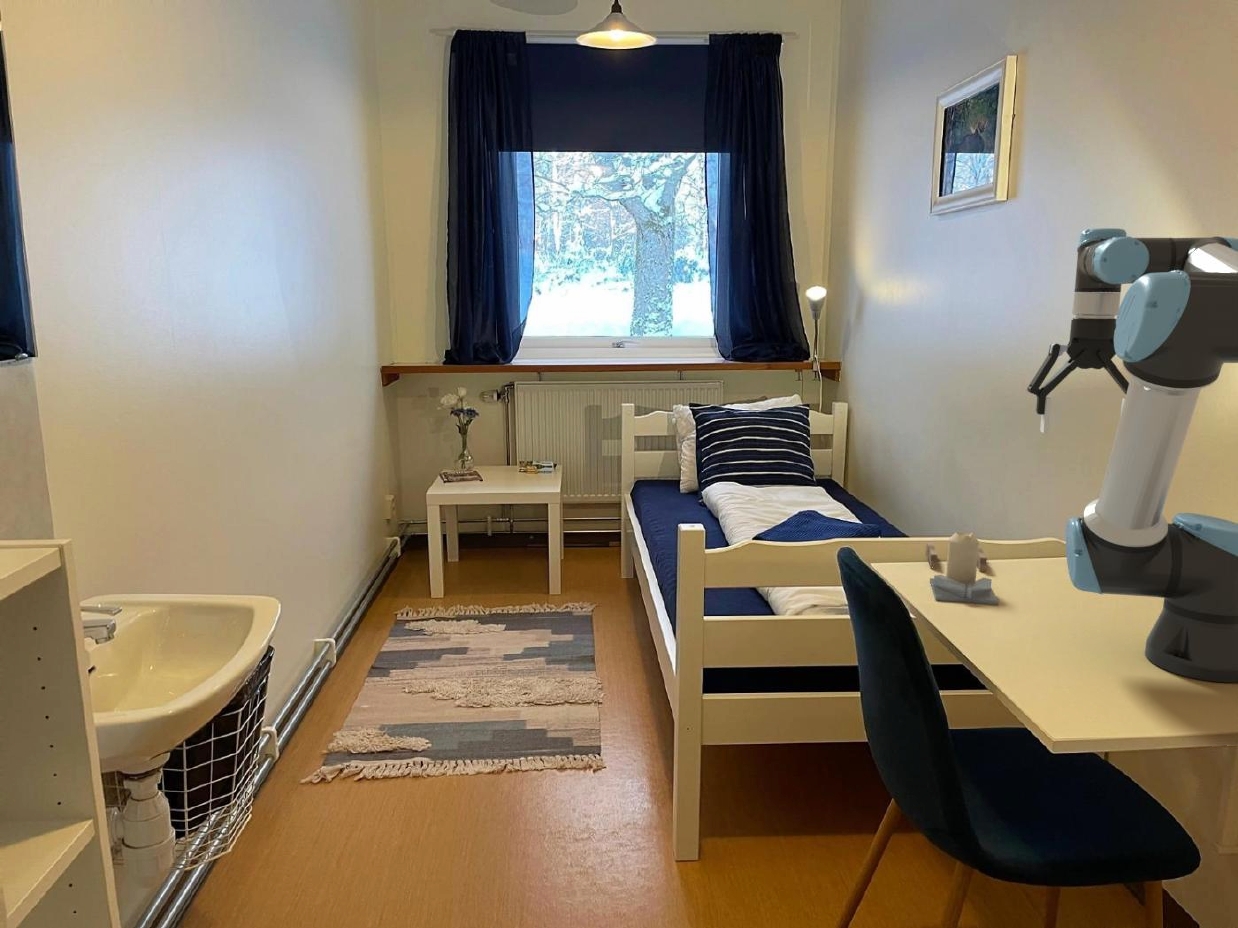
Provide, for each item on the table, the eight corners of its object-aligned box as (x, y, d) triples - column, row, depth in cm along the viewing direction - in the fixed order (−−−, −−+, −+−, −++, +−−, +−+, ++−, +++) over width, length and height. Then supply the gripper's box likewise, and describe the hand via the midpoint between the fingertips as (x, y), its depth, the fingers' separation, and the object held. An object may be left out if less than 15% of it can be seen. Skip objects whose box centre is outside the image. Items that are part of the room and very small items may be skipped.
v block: (997, 604, 175) (998, 590, 174) (935, 600, 177) (936, 586, 176) (988, 586, 185) (989, 572, 185) (929, 582, 187) (930, 568, 187)
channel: (985, 571, 194) (986, 557, 193) (930, 568, 196) (931, 554, 196) (978, 558, 204) (979, 544, 203) (925, 554, 206) (926, 541, 205)
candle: (970, 577, 188) (974, 529, 186) (979, 586, 182) (983, 537, 180) (942, 577, 188) (945, 528, 186) (950, 586, 182) (953, 536, 181)
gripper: (1162, 317, 171) (1149, 432, 175) (1016, 315, 175) (1007, 428, 179) (1178, 318, 163) (1164, 439, 167) (1025, 317, 168) (1015, 434, 172)
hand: (1083, 433), depth 173 cm, fingers open, 13 cm apart
